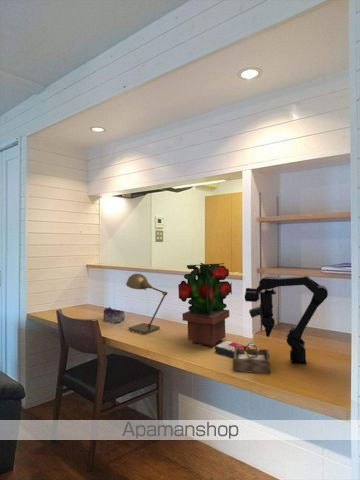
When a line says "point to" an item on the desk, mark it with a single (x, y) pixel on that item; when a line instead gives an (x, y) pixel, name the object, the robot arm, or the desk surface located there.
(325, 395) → the desk surface
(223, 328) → the potted plant
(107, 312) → the geode
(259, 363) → the base
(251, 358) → the ring
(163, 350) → the desk surface
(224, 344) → the calculator
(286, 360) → the desk surface
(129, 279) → the lamp
